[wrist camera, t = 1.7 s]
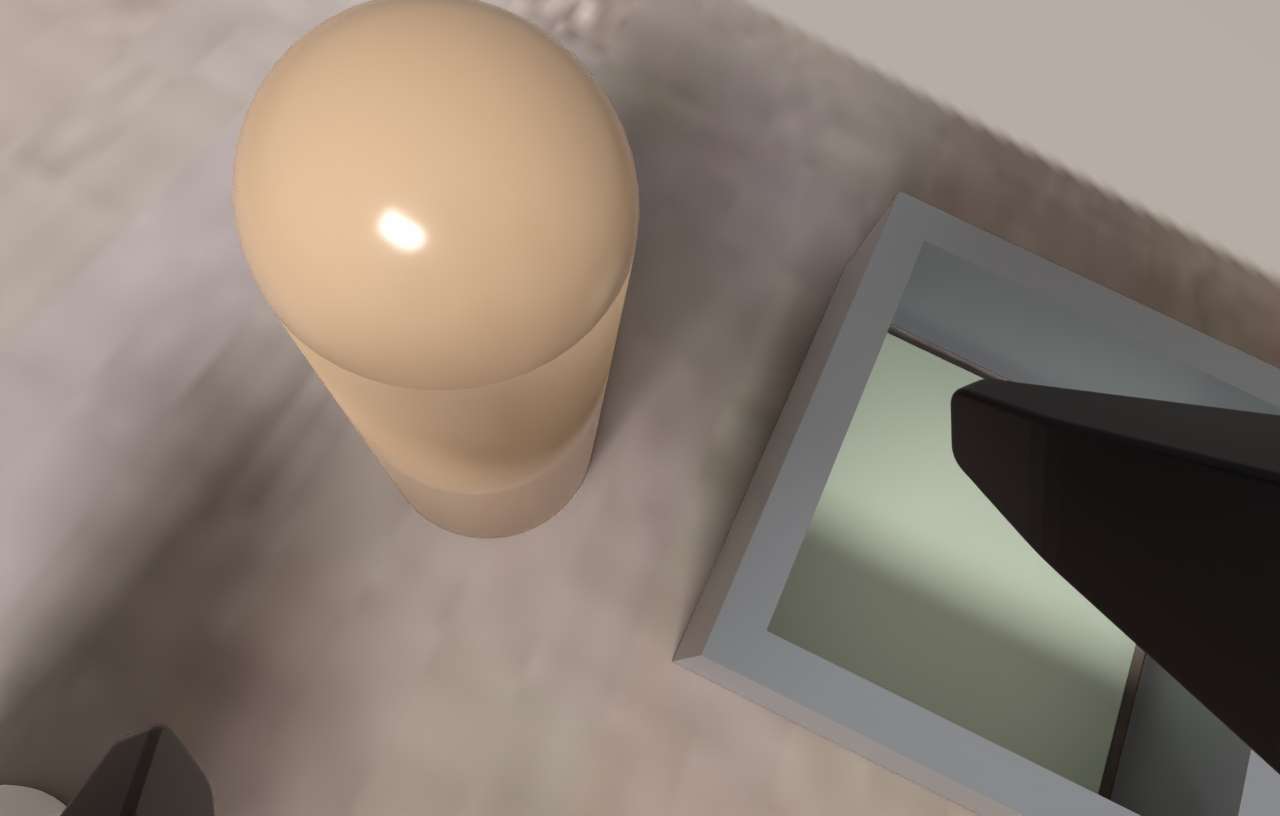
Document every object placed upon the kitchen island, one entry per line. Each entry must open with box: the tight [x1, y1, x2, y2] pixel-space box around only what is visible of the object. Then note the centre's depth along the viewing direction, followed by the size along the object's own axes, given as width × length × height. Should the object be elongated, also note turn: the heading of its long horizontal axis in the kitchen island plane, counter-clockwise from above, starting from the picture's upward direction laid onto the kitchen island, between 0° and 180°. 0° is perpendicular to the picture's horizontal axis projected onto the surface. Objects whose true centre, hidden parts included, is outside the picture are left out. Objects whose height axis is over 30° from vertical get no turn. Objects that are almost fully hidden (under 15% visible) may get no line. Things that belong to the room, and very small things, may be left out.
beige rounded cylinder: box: [233, 0, 640, 538], centre depth 15 cm, size 5×5×14 cm
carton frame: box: [672, 191, 1280, 816], centre depth 20 cm, size 12×23×4 cm, turn 65°
